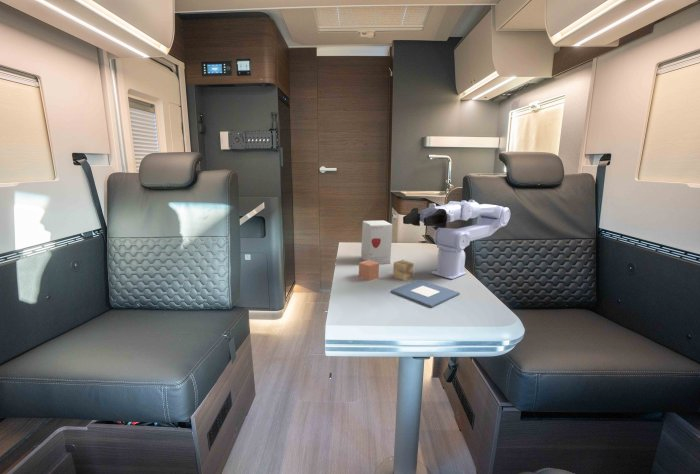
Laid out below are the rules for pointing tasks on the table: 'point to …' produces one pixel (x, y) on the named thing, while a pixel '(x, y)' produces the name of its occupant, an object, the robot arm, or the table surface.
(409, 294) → the board
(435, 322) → the table surface
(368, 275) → the terracotta block
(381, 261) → the supplement box
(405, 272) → the oak block
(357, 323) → the table surface
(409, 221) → the robot arm
